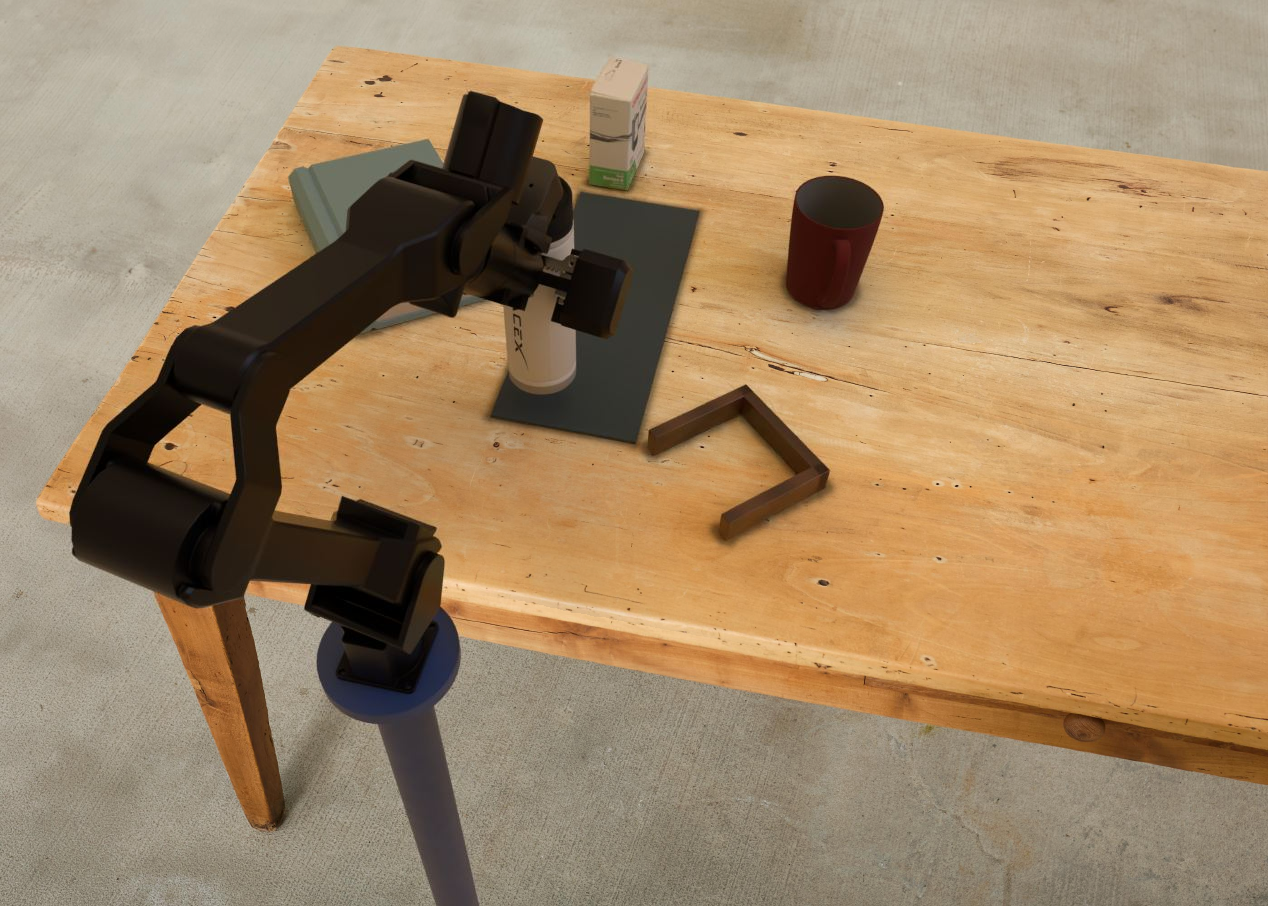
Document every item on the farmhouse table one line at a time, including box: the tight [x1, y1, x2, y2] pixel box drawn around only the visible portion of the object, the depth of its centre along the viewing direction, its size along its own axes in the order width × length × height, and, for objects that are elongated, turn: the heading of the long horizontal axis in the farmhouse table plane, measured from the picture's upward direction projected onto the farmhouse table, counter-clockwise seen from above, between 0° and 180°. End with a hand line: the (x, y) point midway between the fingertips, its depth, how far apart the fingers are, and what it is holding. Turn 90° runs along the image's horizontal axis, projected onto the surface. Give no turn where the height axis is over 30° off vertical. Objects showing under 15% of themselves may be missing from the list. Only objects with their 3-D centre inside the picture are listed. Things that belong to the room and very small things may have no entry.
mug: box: [785, 175, 885, 310], centre depth 108 cm, size 12×9×11 cm
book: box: [287, 138, 486, 335], centre depth 113 cm, size 23×16×5 cm
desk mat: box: [489, 191, 700, 445], centre depth 110 cm, size 36×14×1 cm, turn 168°
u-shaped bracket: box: [646, 384, 831, 541], centre depth 96 cm, size 11×12×2 cm
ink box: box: [588, 57, 650, 191], centre depth 121 cm, size 9×5×12 cm, turn 166°
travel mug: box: [502, 175, 576, 395], centre depth 91 cm, size 6×7×20 cm
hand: (545, 282), depth 92 cm, fingers closed on travel mug, 6 cm apart
